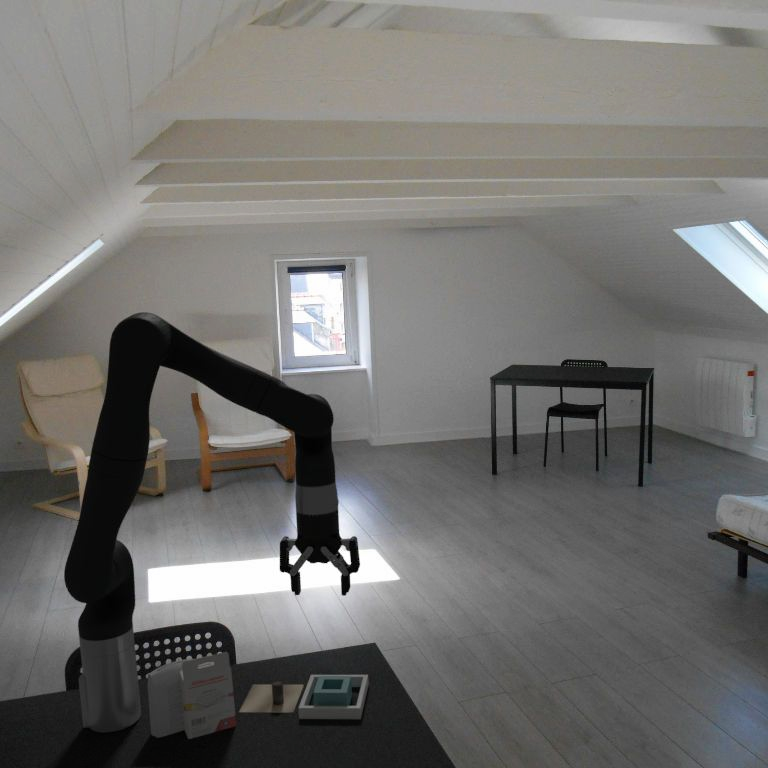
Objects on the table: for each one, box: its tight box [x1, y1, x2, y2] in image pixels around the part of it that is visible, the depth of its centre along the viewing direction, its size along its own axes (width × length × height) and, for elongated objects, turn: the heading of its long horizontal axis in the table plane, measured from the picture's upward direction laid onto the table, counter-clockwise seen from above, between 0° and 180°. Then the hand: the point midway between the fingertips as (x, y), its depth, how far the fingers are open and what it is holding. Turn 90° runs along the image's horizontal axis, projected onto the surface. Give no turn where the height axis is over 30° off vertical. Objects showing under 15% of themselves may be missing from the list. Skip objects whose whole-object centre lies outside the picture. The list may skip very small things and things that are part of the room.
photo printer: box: [147, 658, 195, 739], centre depth 141 cm, size 10×4×12 cm, turn 120°
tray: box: [298, 674, 370, 720], centre depth 147 cm, size 11×12×3 cm
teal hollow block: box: [312, 676, 353, 706], centre depth 147 cm, size 6×8×4 cm
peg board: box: [238, 681, 305, 714], centre depth 149 cm, size 10×10×4 cm
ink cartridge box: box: [179, 651, 237, 740], centre depth 140 cm, size 9×5×15 cm, turn 114°
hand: (321, 593), depth 145 cm, fingers open, 8 cm apart
